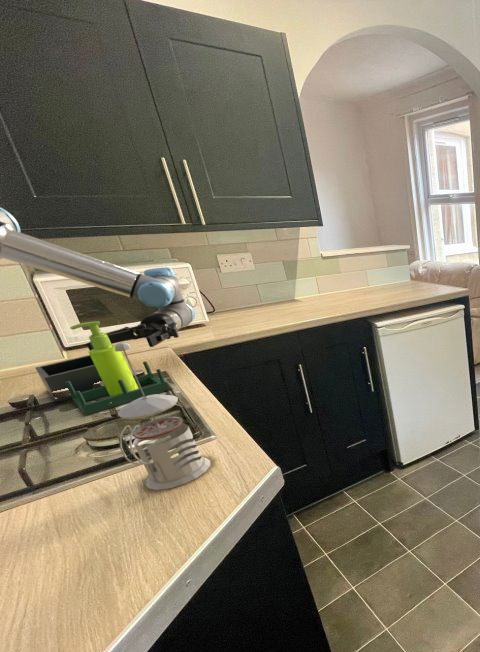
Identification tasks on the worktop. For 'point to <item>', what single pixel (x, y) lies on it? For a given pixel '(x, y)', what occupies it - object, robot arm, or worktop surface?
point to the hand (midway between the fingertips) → (120, 345)
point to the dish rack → (120, 399)
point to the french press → (163, 467)
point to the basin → (69, 375)
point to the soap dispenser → (108, 361)
